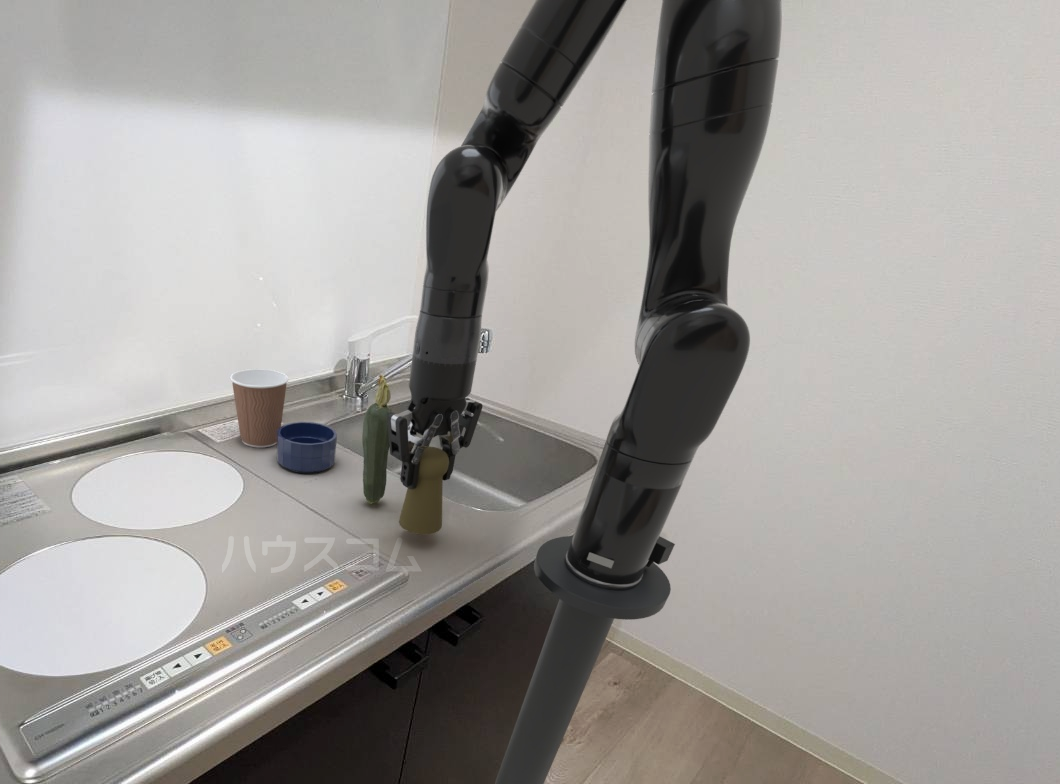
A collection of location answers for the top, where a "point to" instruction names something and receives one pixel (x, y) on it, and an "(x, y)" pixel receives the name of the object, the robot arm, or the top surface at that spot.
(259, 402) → the coffee cup
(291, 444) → the bowl
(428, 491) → the cork
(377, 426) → the vegetable
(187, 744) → the top surface
